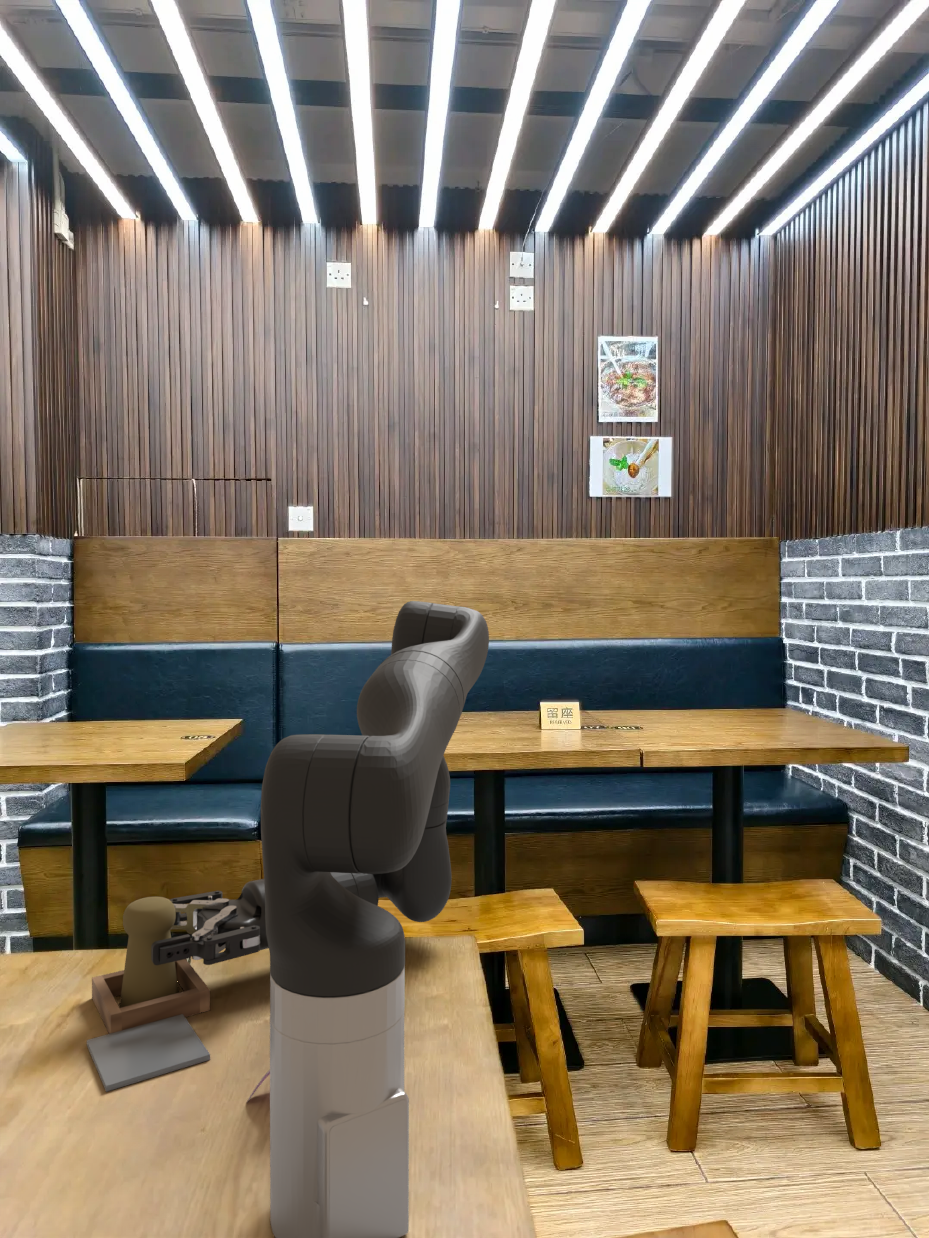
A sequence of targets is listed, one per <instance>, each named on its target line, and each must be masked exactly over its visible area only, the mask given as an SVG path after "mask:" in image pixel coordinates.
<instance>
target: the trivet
mask: <svg viewBox="0 0 929 1238" xmlns="http://www.w3.org/2000/svg"><path fill="white" fill-rule="evenodd" d="M86 1047H87V1049H88V1051H89V1054H90V1056H91V1059H92V1061H93V1065H94V1066H95V1069H96V1071H97V1072H98V1075H99V1078H100V1081H101V1082H102V1086H103V1087H104V1090H105V1092H110V1091H113V1090H116V1089H120V1088H123V1087H125V1086H130V1085H132V1084H137V1083H140V1082H142V1081H146V1080H149V1079H152V1078H155V1077H158V1076H162V1075H164V1074H167V1073H169V1074H170V1073H171V1072H174V1071H177V1070H182V1069H184V1068H187V1067H190V1066H194V1065H197V1064H201V1063H203V1062H206V1061H210V1060H211V1053H210V1051H209V1050H208V1049H207V1047H206V1046H205V1045H204V1043H203V1042H202V1040H201V1039H200V1037H199V1036H198V1034H197V1032H195V1029H194V1028H193V1027H192V1025H191V1024H190V1023H189V1020H188V1019H187V1017H184V1015H183V1014H181V1015H177V1016H173V1017H169V1018H166V1019H162V1020H158V1021H155V1022H151V1023H147V1024H144V1025H140V1026H136V1027H133V1028H129V1029H125V1030H122V1031H118V1032H114V1033H111V1034H109V1033H108V1034H104V1035H100V1036H97V1037H96V1036H95V1037H94V1038H90V1039H86Z"/></svg>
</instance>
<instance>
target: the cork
mask: <svg viewBox="0 0 929 1238" xmlns="http://www.w3.org/2000/svg"><path fill="white" fill-rule="evenodd" d="M175 919H176V912H175V907H174V904H173V903H172V902H171V901H170V899H169V898H166V897H163V896H147V897H143V898H139V899H137V900H134V901H132V902H131V903H129V904H128V905H127V907H126V908H125V910H124V911H123V915H122V926H123V928H124V929H123V930H124V932H125V933H126V934H127V935H128V939H127V946H126V954H125V960H124V961H125V962H124V969H123V970H124V976H123V983H122V991H121V995H120V1000H119V1005H118V1006H119V1008H122V1007H126V1006H130V1005H133V1004H137V1003H141V1002H145V1001H149V1000H153V999H157V998H161V997H164V996H168V995H172V994H176V993H180V990H179V983H178V982H177V975H176V968H175V961H174V962H170V963H166V964H161V965H154V964H153V962H152V960H151V946H152V944H153V943H154V942H155V941H159V940H164V939H169V938H172V935H171V930H172V929H171V928H172V926H173V925H174V923H175Z"/></svg>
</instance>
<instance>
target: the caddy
mask: <svg viewBox="0 0 929 1238" xmlns="http://www.w3.org/2000/svg"><path fill="white" fill-rule="evenodd" d="M175 968H176V975H177V981H178V985H179V984H180V985H179V986H180V988H183V989H182V990H183V991H181V992H180V991H179V993H176V994H172V995H168V996H164V997H161V998H157V999H153V1000H149V1001H145V1002H141V1003H137V1004H133V1005H130V1006H126V1007H122V1008H119V1006H120V1005H119V1004H118V1003H117V1001H116V999H115V997H118V996H121V991H122V983H123V976H124V969H122V970H119V971H114V972H110V973H106V974H101V975H98V976H94V977H93V976H92V977H91V999H92V1002H93V1003H94V1005H95V1007H96V1009H97V1011H98V1014H99V1016H100V1017H101V1020H102V1023H103V1024H104V1026H105V1029H106V1030H107V1032H108V1034H111V1033H114V1032H118V1031H122V1030H125V1029H129V1028H133V1027H136V1026H140V1025H144V1024H147V1023H151V1022H155V1021H158V1020H162V1019H166V1018H169V1017H173V1016H177V1015H181V1014H183V1015H184V1017H185V1018H187V1017H191V1016H194V1015H198V1014H202V1013H204V1012H206V1013H207V1012H209V1011H211V1010H210V1009H211V1007H210V1003H211V1001H210V999H211V998H210V996H211V995H210V993H211V991H210V988H209V986H208V985H207V984H206V982H205V981H204V980H203V979H202V978H201V976H200V975H199V974H198V973H197V971H196V970H195V969H194V968H193V966H192V965H191V964H190V962H189V961H188V960H187V959H183V960H178V961H175ZM201 1012H202V1013H201Z"/></svg>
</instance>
